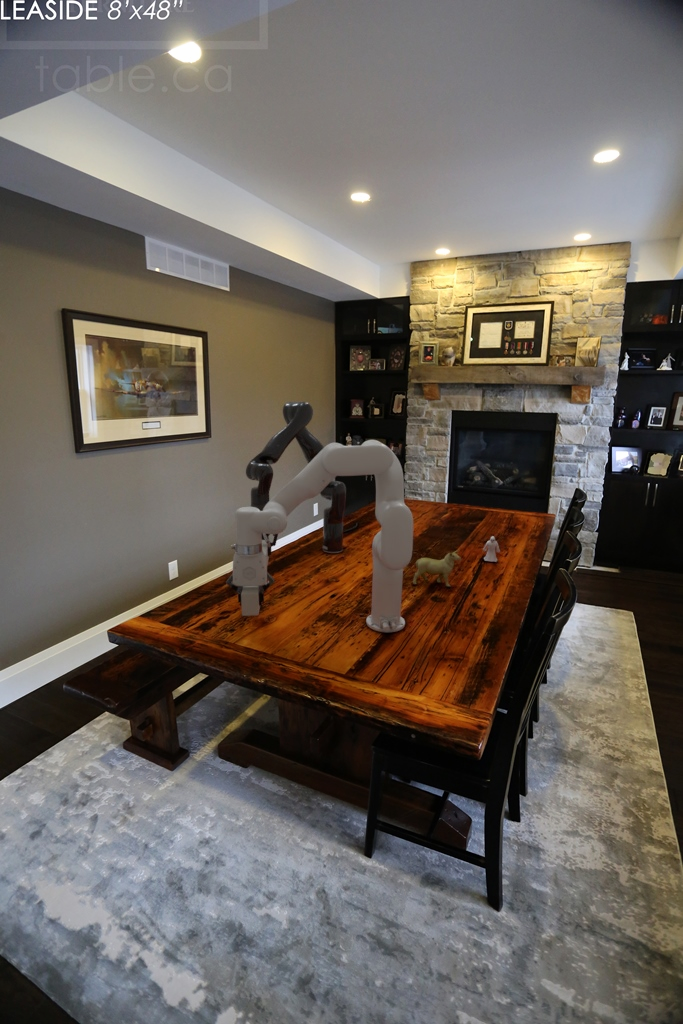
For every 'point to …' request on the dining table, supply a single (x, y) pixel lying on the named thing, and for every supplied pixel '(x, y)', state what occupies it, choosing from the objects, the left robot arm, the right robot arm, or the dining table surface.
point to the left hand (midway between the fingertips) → (261, 555)
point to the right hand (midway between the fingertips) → (251, 603)
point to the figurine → (491, 550)
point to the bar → (252, 593)
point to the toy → (436, 567)
